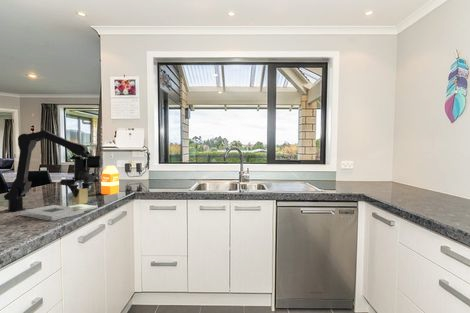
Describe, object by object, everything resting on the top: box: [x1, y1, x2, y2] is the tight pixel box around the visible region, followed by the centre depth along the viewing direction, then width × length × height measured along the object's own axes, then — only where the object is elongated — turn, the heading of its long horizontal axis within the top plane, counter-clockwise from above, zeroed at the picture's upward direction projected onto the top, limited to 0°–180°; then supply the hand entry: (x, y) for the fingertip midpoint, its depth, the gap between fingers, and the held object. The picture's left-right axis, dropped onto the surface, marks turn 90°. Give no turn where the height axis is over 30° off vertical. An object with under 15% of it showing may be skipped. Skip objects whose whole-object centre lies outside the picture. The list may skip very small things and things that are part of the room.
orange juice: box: [100, 165, 120, 195], centre depth 192 cm, size 8×9×20 cm
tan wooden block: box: [72, 187, 89, 205], centre depth 143 cm, size 5×5×8 cm
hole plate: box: [20, 204, 85, 222], centre depth 130 cm, size 22×16×2 cm
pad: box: [67, 203, 97, 212], centre depth 143 cm, size 12×10×1 cm
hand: (80, 196), depth 143 cm, fingers closed on tan wooden block, 5 cm apart
